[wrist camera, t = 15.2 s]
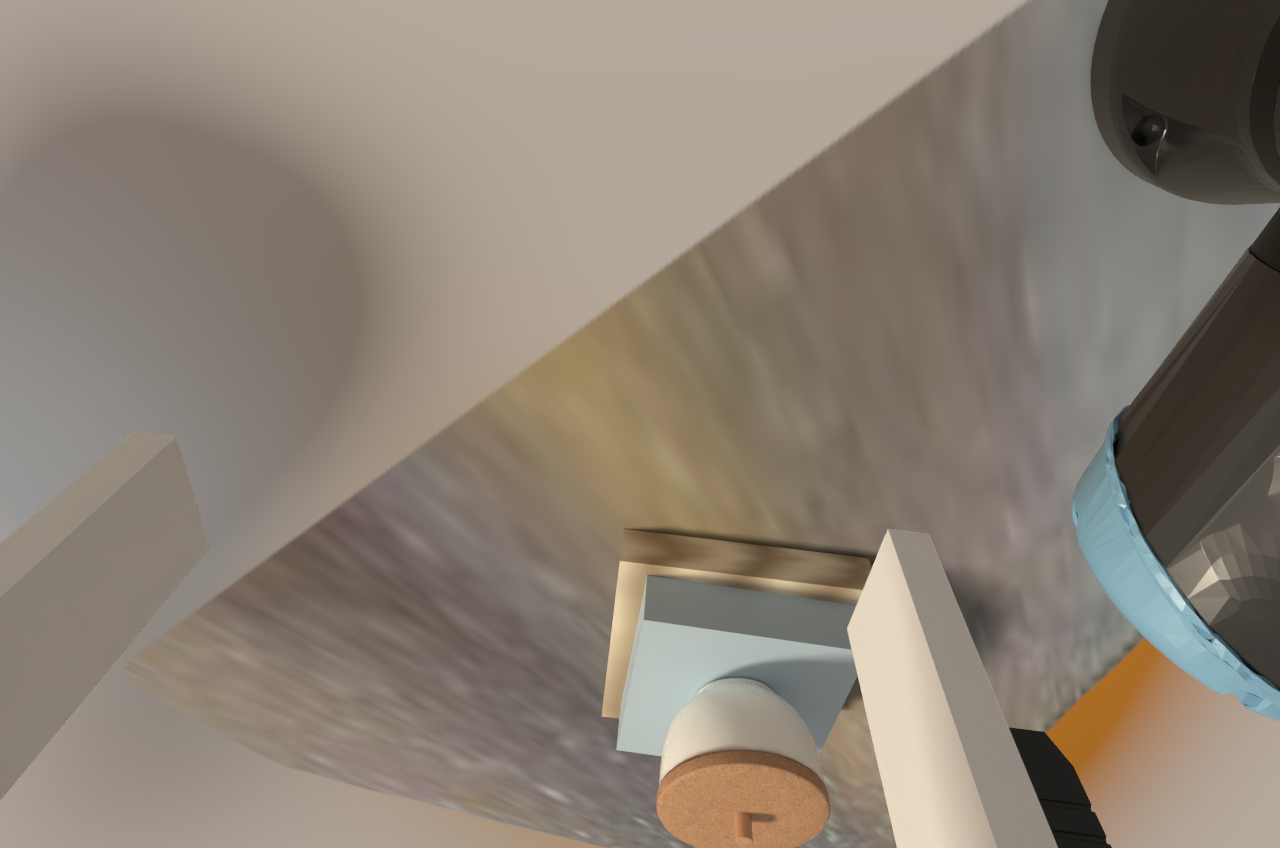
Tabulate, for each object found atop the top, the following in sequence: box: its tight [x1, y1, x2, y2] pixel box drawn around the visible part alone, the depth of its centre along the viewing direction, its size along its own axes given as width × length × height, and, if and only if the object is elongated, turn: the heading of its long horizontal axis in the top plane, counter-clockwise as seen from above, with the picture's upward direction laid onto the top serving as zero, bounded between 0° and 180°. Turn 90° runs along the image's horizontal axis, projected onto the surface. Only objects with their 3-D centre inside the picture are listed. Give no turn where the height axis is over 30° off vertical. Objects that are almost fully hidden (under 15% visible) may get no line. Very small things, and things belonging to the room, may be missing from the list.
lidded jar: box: [657, 677, 830, 848], centre depth 46 cm, size 11×11×9 cm
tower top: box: [617, 575, 858, 756], centre depth 52 cm, size 15×15×4 cm
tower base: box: [602, 529, 871, 718], centre depth 55 cm, size 18×18×4 cm
